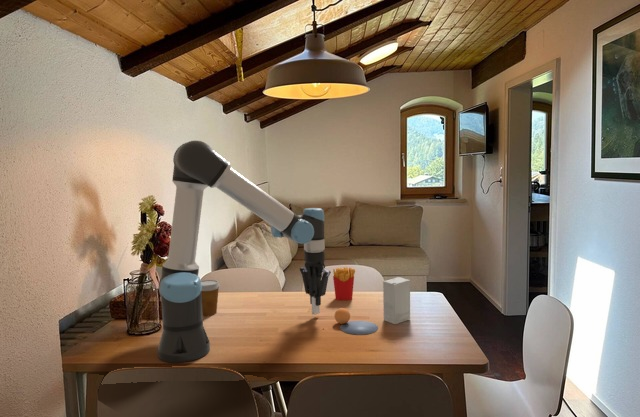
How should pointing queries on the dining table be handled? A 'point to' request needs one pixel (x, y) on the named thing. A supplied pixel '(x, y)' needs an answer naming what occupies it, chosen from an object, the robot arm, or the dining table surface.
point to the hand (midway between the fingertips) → (315, 313)
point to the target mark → (359, 327)
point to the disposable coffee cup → (209, 296)
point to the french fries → (343, 283)
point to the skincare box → (396, 300)
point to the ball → (342, 315)
